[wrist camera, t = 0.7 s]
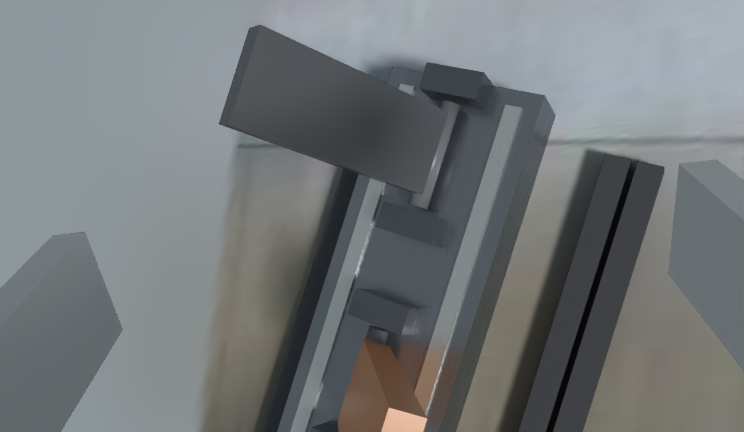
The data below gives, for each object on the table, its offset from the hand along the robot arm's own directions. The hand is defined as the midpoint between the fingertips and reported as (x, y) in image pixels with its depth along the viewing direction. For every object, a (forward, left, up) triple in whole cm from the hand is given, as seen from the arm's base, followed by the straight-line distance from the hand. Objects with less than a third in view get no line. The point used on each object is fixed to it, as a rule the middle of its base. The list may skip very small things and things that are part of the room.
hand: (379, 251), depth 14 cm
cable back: (+5, -15, -26) cm, 31 cm away
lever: (+9, -8, -21) cm, 24 cm away
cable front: (+5, +1, -26) cm, 27 cm away
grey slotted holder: (+5, -8, -26) cm, 28 cm away
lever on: (-5, -8, -21) cm, 23 cm away
